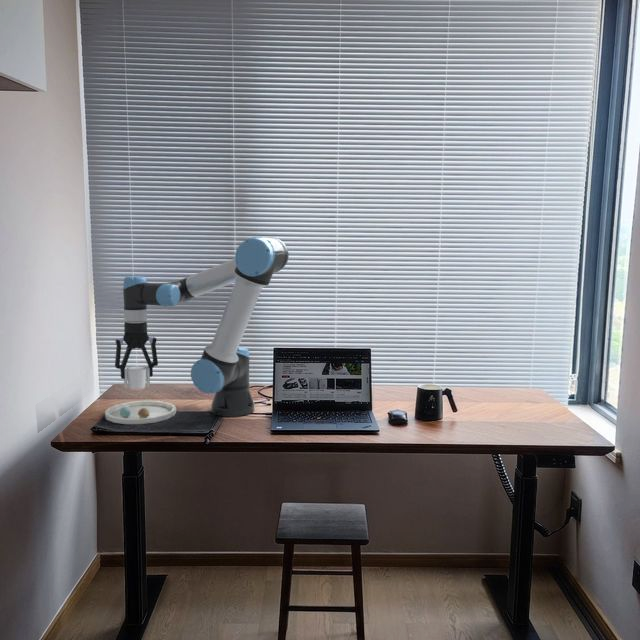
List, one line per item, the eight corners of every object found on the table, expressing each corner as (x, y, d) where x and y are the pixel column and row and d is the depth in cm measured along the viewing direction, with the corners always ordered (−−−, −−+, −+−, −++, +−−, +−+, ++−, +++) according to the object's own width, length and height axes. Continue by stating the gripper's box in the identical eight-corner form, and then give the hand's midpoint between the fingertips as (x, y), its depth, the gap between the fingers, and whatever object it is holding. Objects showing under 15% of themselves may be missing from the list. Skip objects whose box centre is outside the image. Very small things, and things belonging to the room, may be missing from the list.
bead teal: (130, 415, 215) (129, 405, 215) (131, 418, 212) (131, 407, 212) (119, 416, 214) (119, 406, 213) (120, 419, 211) (120, 408, 210)
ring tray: (168, 404, 232) (167, 398, 232) (182, 422, 212) (182, 414, 211) (101, 411, 223) (101, 404, 222) (110, 430, 202) (109, 422, 202)
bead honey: (148, 416, 214) (148, 406, 214) (150, 419, 211) (149, 409, 211) (137, 417, 213) (137, 407, 212) (139, 420, 210) (139, 410, 209)
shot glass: (148, 389, 220) (148, 369, 219) (127, 390, 217) (127, 370, 216) (146, 384, 226) (145, 365, 225) (126, 385, 223) (125, 366, 222)
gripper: (162, 318, 226) (163, 381, 229) (104, 321, 217) (106, 386, 221) (166, 321, 219) (167, 386, 222) (106, 324, 211) (108, 391, 214)
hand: (137, 386), depth 221 cm, fingers closed on shot glass, 7 cm apart
